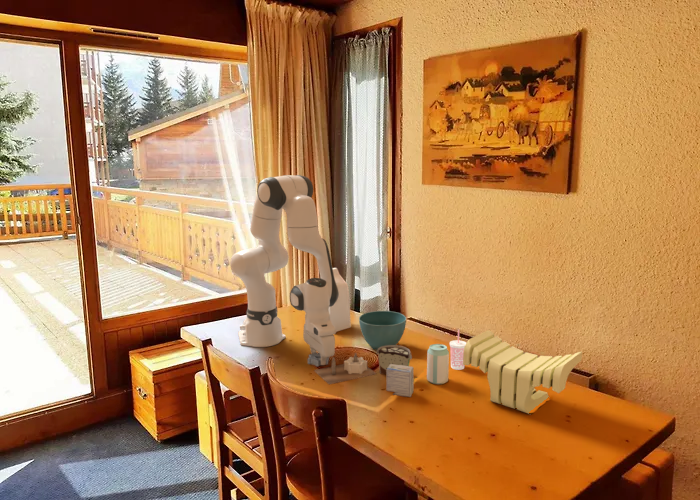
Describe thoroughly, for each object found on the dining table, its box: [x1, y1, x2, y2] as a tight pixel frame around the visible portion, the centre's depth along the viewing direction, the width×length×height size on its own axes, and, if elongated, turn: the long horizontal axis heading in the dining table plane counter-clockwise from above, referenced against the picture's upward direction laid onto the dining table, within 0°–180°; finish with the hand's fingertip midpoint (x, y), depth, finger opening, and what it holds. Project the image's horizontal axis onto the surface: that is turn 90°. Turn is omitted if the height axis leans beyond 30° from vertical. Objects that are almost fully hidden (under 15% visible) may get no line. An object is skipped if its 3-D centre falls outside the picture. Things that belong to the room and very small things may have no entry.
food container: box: [376, 344, 413, 376], centre depth 185 cm, size 12×6×10 cm, turn 65°
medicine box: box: [386, 364, 414, 398], centre depth 172 cm, size 8×4×9 cm, turn 71°
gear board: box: [313, 352, 377, 385], centre depth 186 cm, size 13×18×7 cm
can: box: [426, 343, 450, 385], centre depth 181 cm, size 7×7×12 cm
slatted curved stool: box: [463, 329, 583, 414], centre depth 165 cm, size 30×16×18 cm, turn 47°
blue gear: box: [307, 352, 330, 367], centre depth 196 cm, size 7×8×3 cm
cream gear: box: [343, 356, 368, 374], centre depth 188 cm, size 7×8×3 cm
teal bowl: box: [358, 310, 407, 351], centre depth 211 cm, size 18×18×12 cm
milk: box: [329, 267, 352, 333], centre depth 235 cm, size 12×12×26 cm
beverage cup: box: [449, 329, 467, 371], centre depth 192 cm, size 6×6×14 cm
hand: (318, 360), depth 196 cm, fingers closed on blue gear, 6 cm apart
